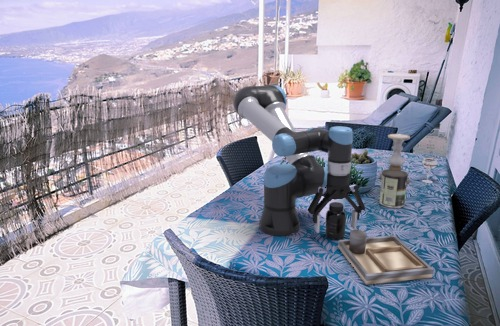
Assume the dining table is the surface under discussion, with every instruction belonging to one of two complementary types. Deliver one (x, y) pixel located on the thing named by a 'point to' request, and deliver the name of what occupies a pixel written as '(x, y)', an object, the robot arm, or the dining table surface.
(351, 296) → the dining table surface
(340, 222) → the supplement bottle
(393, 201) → the coffee can
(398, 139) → the candle holder
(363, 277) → the board
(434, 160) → the wineglass
